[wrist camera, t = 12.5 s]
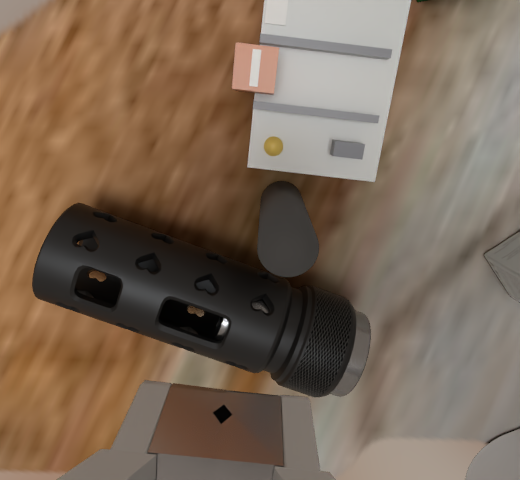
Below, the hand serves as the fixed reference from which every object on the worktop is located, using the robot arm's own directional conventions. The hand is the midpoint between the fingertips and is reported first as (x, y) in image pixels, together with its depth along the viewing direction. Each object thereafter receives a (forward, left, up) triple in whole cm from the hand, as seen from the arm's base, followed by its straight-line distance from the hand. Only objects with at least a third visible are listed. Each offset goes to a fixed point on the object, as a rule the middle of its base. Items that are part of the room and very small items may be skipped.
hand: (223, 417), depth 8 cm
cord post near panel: (-3, +3, -33) cm, 33 cm away
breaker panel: (-5, -7, -33) cm, 34 cm away
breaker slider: (+1, -8, -29) cm, 30 cm away
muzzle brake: (+3, +12, -34) cm, 36 cm away
